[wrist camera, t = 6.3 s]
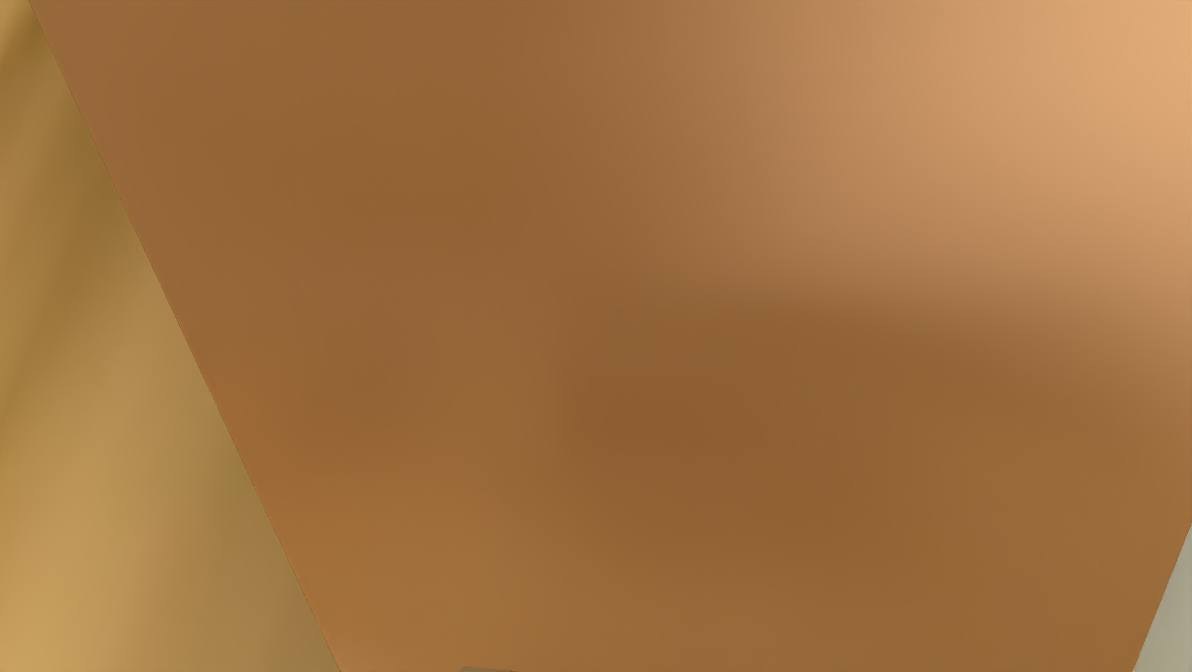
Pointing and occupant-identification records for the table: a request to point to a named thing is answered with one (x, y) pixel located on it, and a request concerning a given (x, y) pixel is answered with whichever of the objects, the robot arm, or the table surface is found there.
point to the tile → (681, 316)
